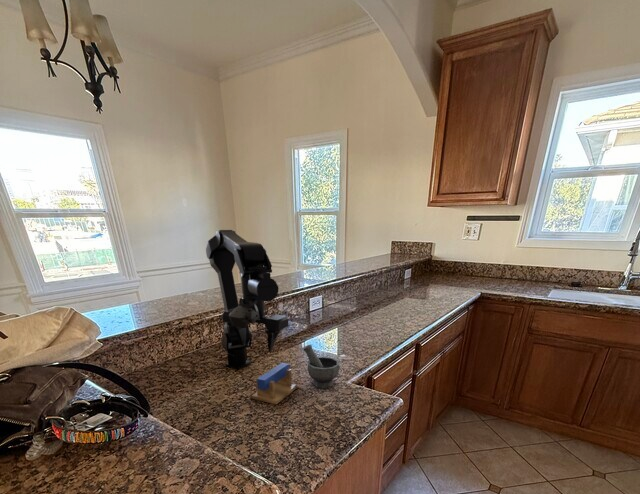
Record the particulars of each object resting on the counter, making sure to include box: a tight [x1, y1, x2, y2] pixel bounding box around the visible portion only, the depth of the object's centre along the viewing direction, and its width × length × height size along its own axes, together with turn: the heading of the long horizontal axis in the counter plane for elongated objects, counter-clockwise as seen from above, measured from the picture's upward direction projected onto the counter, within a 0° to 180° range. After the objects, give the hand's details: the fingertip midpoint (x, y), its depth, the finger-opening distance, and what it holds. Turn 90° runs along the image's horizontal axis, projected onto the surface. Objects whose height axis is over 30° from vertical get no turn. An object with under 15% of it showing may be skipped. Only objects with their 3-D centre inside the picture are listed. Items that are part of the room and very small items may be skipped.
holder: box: [251, 366, 298, 405], centre depth 100 cm, size 12×8×6 cm
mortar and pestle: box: [302, 344, 340, 389], centre depth 106 cm, size 11×9×12 cm
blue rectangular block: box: [256, 362, 290, 390], centre depth 99 cm, size 13×2×3 cm, turn 155°
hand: (256, 347), depth 102 cm, fingers open, 9 cm apart
